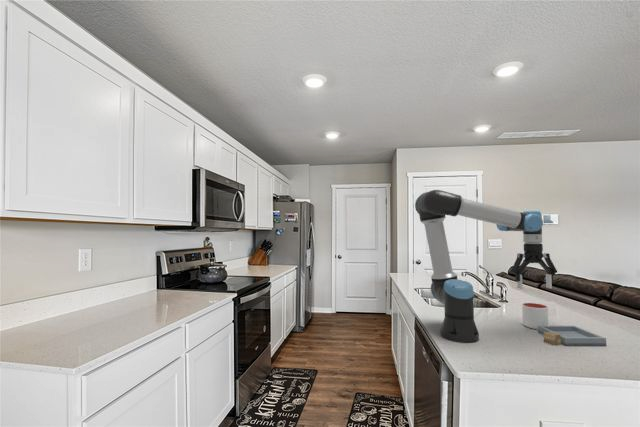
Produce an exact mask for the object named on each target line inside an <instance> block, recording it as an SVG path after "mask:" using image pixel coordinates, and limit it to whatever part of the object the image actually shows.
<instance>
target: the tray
mask: <svg viewBox="0 0 640 427" xmlns="http://www.w3.org/2000/svg"><path fill="white" fill-rule="evenodd" d="M550 331H551V332H554V333H557V334H561V344H560V345H562V346H564V347H607V338H606V337H604V336H601V335H599V334H597V333H594V332H591V331H589V330H587V329H584V328H581V327H579V326H577V325H548V326H538V329H537V333H538V332H539V334H540V333H541V335H542V334H543V335H542V336H544V332H550Z"/></svg>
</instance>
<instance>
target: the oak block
mask: <svg viewBox="0 0 640 427" xmlns="http://www.w3.org/2000/svg"><path fill="white" fill-rule="evenodd" d="M545 342H546V343H545ZM543 343H545V344H547V343H548V345H550V344H551V346H553V345H555V346H559V345H562V344H561V334H557V333H554V332H551V331H550V332H544V335H543Z"/></svg>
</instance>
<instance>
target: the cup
mask: <svg viewBox="0 0 640 427" xmlns="http://www.w3.org/2000/svg"><path fill="white" fill-rule="evenodd" d="M521 305H522V308H521V310H522V312H521V313H522V324H523V326H525V327H527V328H528V329H533V330H538V326H549V307H548V306H547V305H546V304H541V303H536V302H533V303H532V302H524V303H522V304H521Z"/></svg>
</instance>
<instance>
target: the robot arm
mask: <svg viewBox="0 0 640 427" xmlns="http://www.w3.org/2000/svg"><path fill="white" fill-rule="evenodd" d="M414 207H415V211H416V212H417V214H418V216H419V220H420V223H422V224H423V225H424V229H425V234H426V240H427V245H428V250H429V256H430V261H431V262H430V263H431V266H432V272H433V274H432V275H431V277H430V278H431V279H430V280H431V283H430V284H431V285H430V291H431V294H432V296H433V298H435V300H436V301H438V302H439V303H441V304H443V305H444V306H443V307H444V317H443V318H444V319H443V322H442V324H441V327H440V336H442V337H443V338H444V339H446V340H449V341H454V342H459V343H474V342H478V341H479V339H480V333H479V330H478V328H477V324H476V322H475V321H476V320H475V318H474V317H475V316H474V315H475V312H474V311H475V310H474V308H475V304H474V298H475V296H474V294H475V292H474V287H473V285H472V283H471V282H469V281H466V280H462V279H458V275H457V273H456V272H455V271H453V267H452V262H451V256H450V251H449V246H448V245H449V244H448V241H447V235H446V231H445V230H446V229H445V226H444V224H445V223H444V221H445V219H446V218H447V217H446V216H450V217H457V216H461V217H464V218H468V219H473V220H478V221H481V222H486V223H491V224H495V225H496V227H497V228H496V229H498V230H499V231H500V232H522V233H523V234H522V236H523V238H522V239H523V241H522V242H523V252H524V253H517V254H516V255H517V256H516V259H515V261H514V263H513V266H512V268H511V270H510V272H511V273H512V274H514V275H515V281H516V282H517V283H516V284H517V285H516V287H517V289H521V290H523V275H522V273H523V271H524V270H525V269H526V268H527V266H528V265H530V264H539V265H540V266H541V267H542V268H543V270H544V271H545V272H546V273H545V288H547V289H552V288H553V286H552V285H553V283H552V282H553V281H554V275H555V274H557V273H558V270H557V268H556V266H555V264H554V263H553V261H552V259H551V256H550V253H548V252H547V253H546V252H544V253H543V250H544V249H543V248H544V246H543V225H544V220H543V218H542V213H541V211H540V210H523V211H522V212H521V211H517V210H513V209H509V208H508V209H507V208H504V207H500V206H496V205H491V204H487V203H483V202H479V201H474V200H472V199H466V198H463V197H462V195H460V194H456V193H453V192H449V191H444V190H441V189H433V190H430V191H426V192H423V193H422V194H420V195H419V196H418V197H417V198H416V199H415V204H414Z"/></svg>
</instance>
